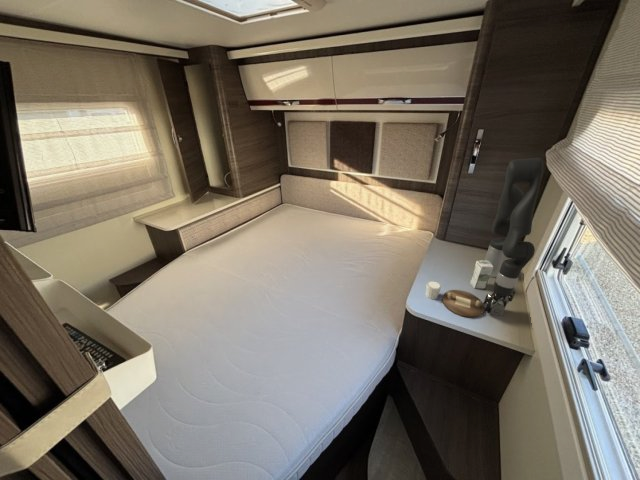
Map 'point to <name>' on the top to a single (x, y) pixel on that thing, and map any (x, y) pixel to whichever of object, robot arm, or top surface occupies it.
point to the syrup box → (481, 274)
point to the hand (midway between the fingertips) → (494, 310)
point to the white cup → (432, 289)
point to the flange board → (463, 303)
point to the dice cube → (497, 308)
